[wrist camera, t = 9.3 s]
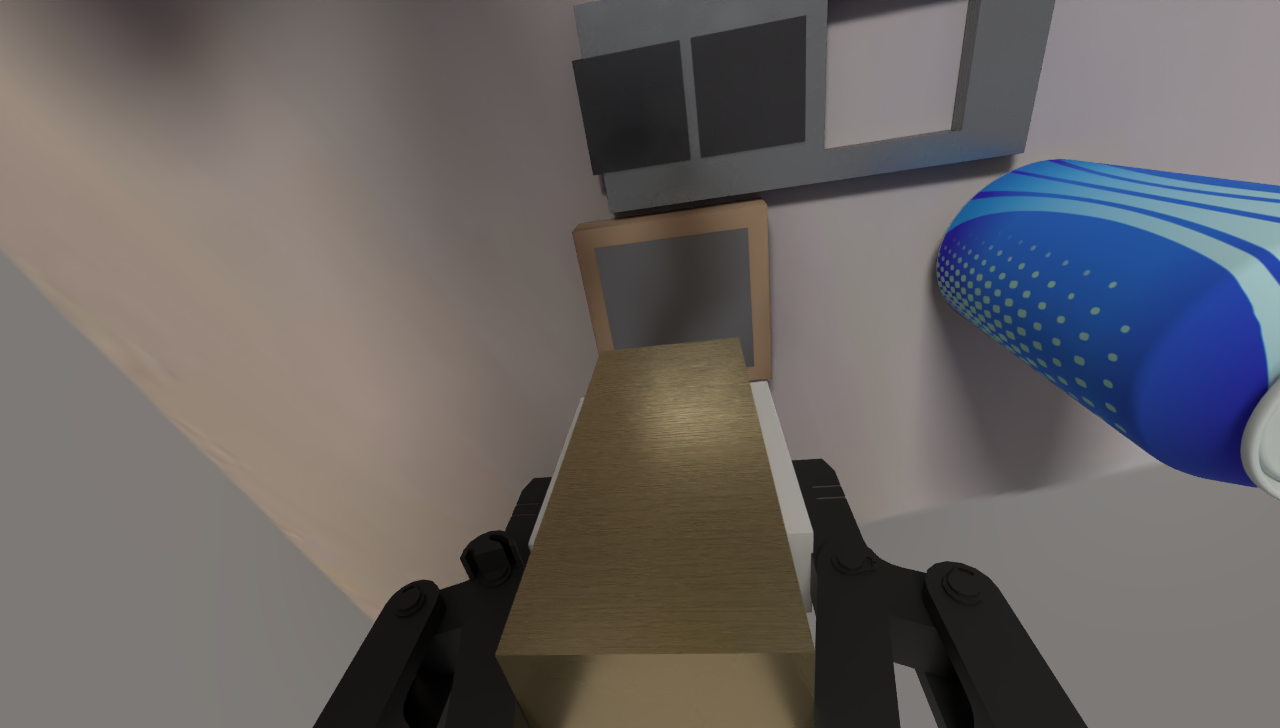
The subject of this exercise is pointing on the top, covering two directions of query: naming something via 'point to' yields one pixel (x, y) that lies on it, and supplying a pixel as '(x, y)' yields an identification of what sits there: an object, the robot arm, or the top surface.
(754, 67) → the grey slotted plate
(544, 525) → the brass rectangular block
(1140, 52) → the top surface
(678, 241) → the pad
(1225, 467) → the beer can
